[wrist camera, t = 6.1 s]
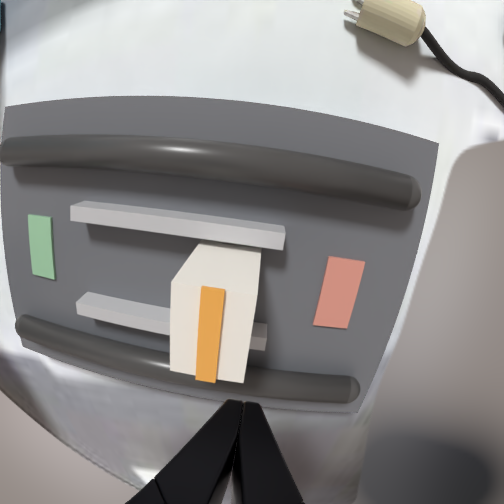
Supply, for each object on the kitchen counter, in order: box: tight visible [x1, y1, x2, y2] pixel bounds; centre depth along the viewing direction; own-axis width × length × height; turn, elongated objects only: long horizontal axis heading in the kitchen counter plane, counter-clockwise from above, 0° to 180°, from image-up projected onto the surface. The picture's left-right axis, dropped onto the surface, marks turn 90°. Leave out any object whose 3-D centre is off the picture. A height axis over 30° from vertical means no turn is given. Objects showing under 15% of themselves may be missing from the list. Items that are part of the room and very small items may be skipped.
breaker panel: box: [0, 96, 439, 413], centre depth 17 cm, size 18×26×4 cm
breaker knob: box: [170, 239, 262, 383], centre depth 14 cm, size 4×3×6 cm
